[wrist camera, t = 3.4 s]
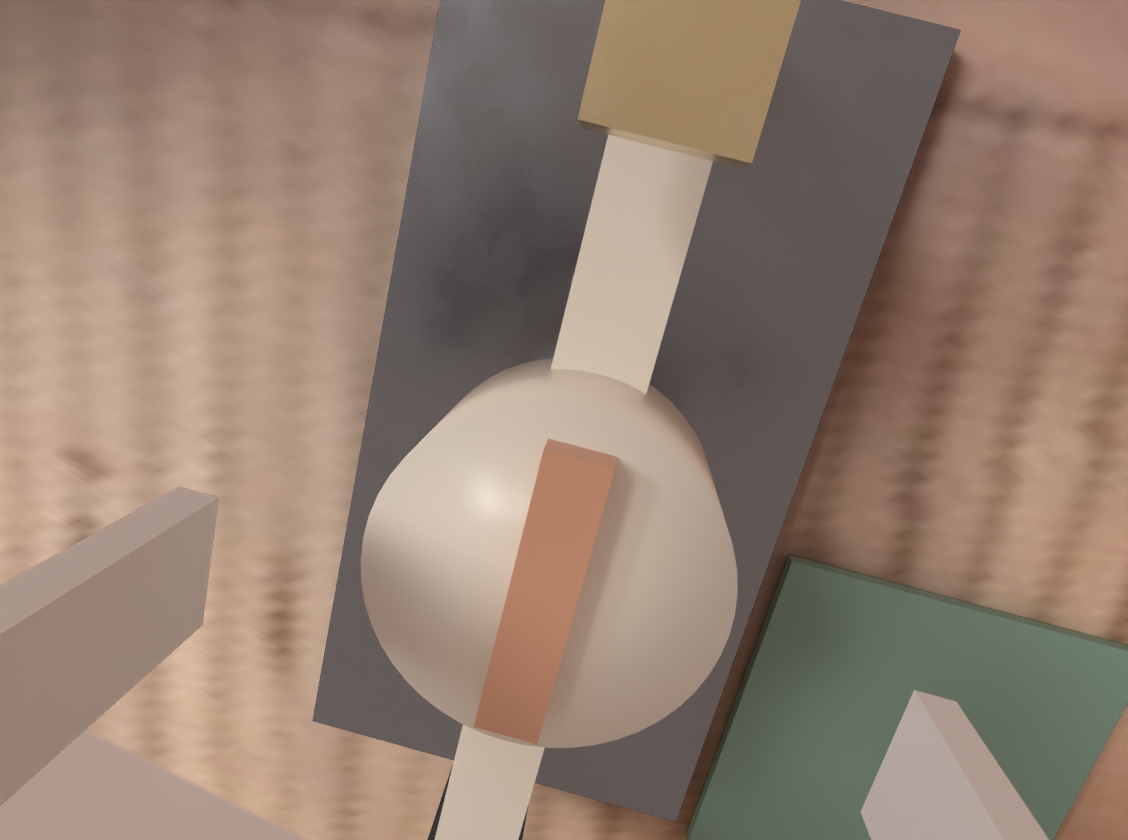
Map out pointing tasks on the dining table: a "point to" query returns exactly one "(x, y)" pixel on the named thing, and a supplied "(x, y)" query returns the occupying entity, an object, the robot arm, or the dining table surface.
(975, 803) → the robot arm
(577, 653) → the cream crossbar with hub
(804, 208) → the grey frame
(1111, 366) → the dining table surface
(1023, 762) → the mat
